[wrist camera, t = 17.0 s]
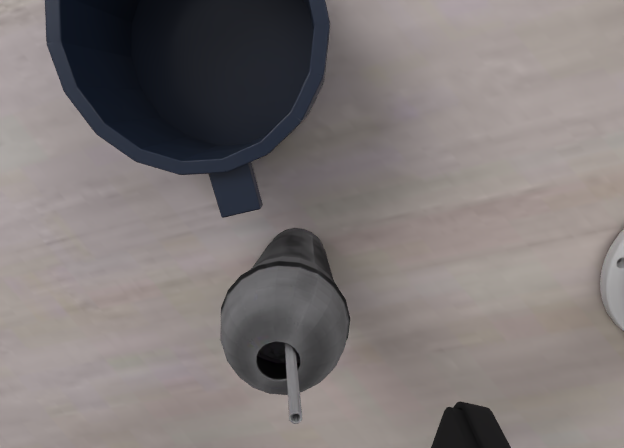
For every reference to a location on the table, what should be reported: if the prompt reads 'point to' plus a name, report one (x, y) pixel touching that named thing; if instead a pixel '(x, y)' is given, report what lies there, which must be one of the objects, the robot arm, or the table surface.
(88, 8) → the pot
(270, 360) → the beverage cup
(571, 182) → the table surface
